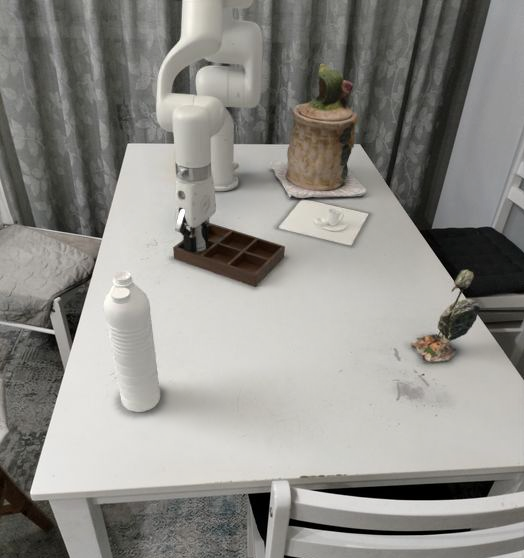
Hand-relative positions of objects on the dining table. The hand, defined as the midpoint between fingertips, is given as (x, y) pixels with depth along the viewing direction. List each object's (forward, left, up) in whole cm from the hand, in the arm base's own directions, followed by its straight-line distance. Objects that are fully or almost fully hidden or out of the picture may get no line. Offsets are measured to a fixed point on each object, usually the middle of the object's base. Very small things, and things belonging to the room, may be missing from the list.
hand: (196, 245), depth 118 cm
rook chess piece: (0, 0, -1) cm, 1 cm away
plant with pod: (+4, +59, -3) cm, 59 cm away
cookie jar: (-56, +7, -3) cm, 57 cm away
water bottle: (+45, +18, -3) cm, 48 cm away
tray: (-3, +7, -3) cm, 8 cm away
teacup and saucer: (-34, +19, -3) cm, 40 cm away
